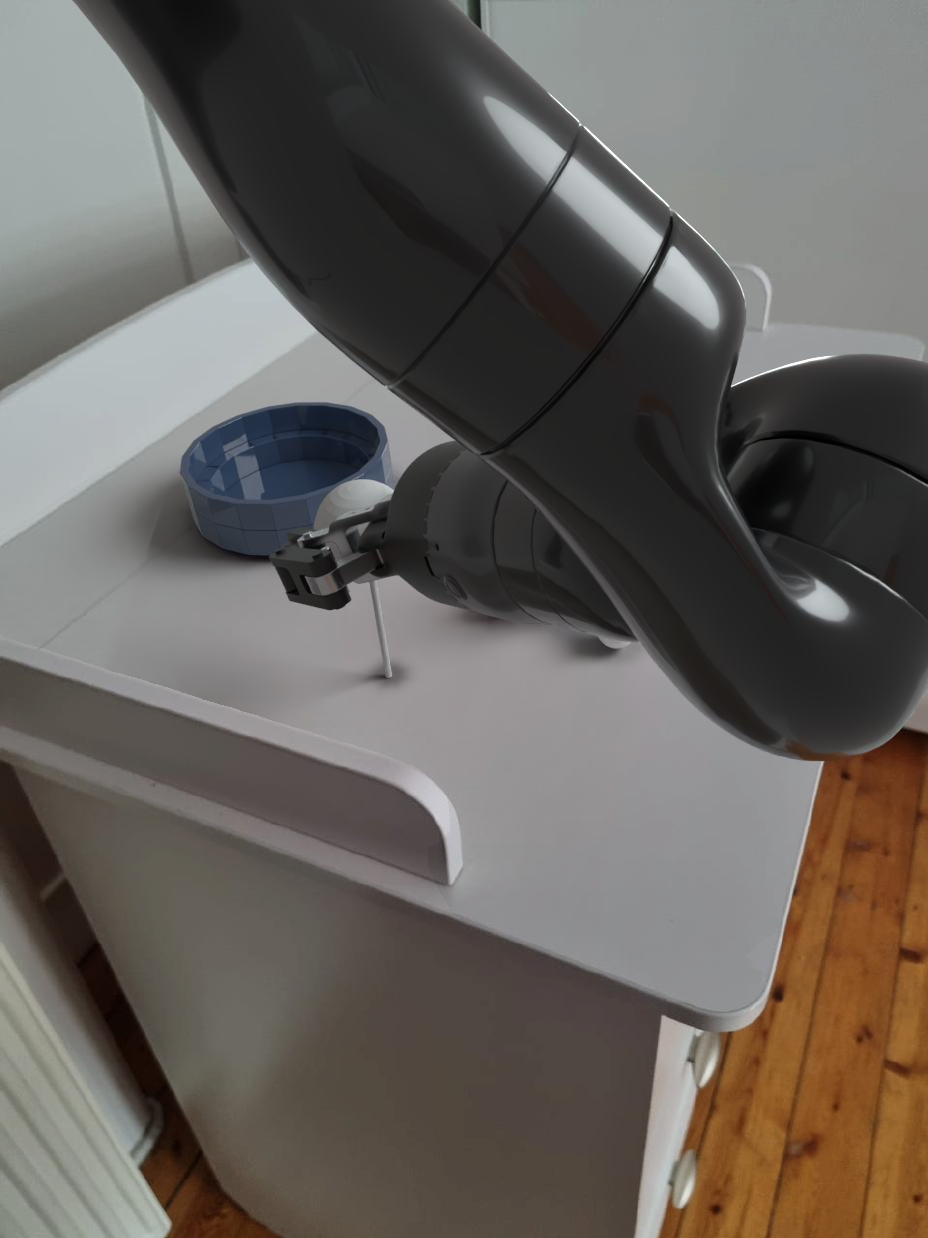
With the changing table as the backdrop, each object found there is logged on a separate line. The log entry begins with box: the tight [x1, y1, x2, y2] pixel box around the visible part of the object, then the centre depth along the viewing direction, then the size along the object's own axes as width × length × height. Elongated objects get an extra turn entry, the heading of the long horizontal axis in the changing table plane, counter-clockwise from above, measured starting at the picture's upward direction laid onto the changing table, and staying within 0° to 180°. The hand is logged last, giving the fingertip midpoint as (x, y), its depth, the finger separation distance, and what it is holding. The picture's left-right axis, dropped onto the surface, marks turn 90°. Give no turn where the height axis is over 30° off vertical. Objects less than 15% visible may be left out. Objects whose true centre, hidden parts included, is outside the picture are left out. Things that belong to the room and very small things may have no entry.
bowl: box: [179, 401, 396, 556], centre depth 81 cm, size 17×17×6 cm
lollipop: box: [314, 479, 394, 679], centre depth 60 cm, size 6×6×15 cm
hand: (363, 515), depth 53 cm, fingers open, 8 cm apart
